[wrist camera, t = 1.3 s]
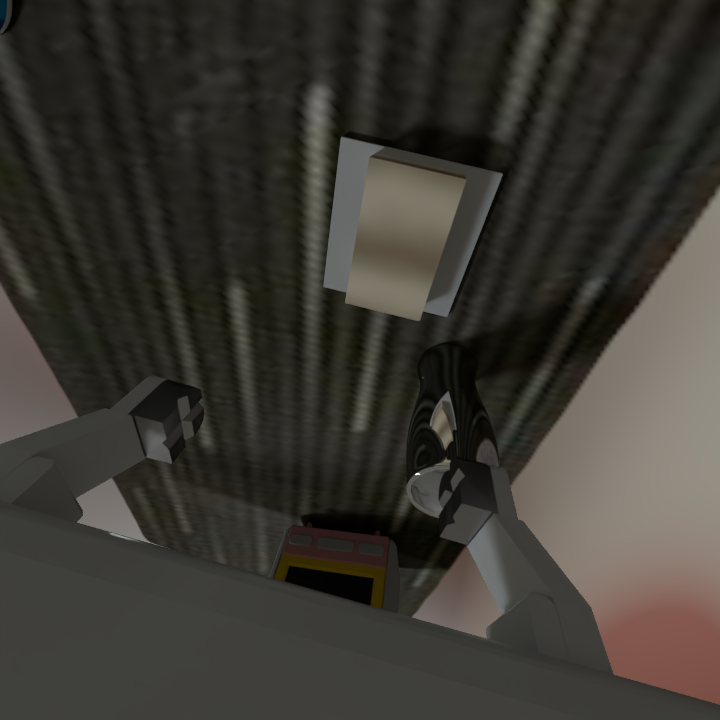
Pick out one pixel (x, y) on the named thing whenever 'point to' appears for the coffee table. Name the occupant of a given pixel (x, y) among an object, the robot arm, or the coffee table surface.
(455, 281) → the grey mat
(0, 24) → the beverage bottle
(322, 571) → the alarm clock
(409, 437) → the beer glass
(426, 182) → the birch lid
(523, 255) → the coffee table surface
